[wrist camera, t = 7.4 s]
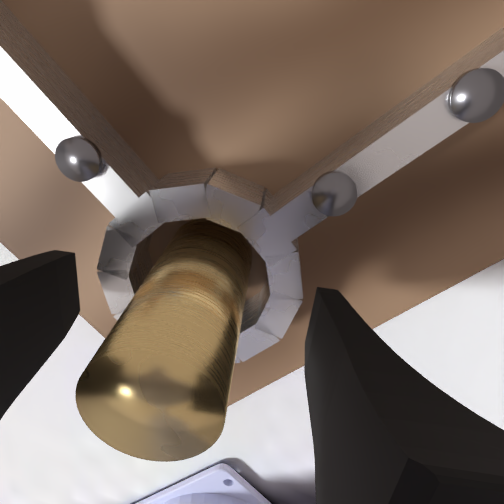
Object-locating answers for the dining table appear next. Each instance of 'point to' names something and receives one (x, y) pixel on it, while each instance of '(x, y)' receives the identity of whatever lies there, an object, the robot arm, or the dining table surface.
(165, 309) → the brass pin
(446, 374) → the dining table surface
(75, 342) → the dining table surface
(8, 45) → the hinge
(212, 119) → the board
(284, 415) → the dining table surface
